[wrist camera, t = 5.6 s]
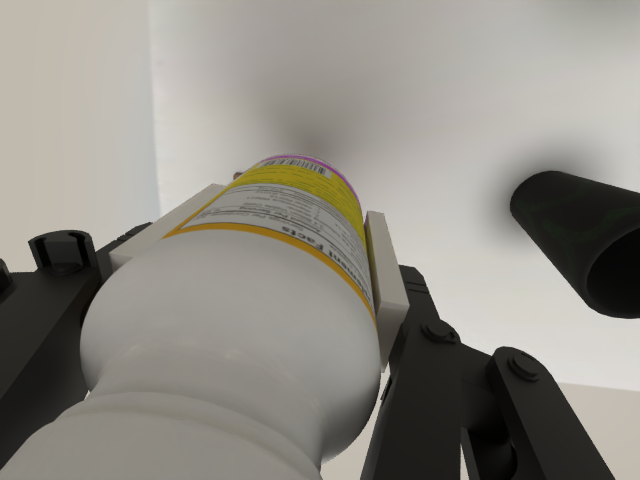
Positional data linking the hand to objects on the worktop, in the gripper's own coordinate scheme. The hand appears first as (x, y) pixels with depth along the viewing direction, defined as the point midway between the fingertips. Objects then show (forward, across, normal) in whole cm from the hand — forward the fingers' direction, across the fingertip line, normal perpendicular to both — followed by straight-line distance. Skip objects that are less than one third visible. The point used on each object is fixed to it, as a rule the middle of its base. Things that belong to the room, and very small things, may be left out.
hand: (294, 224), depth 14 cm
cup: (+15, +22, 0) cm, 27 cm away
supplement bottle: (+1, 0, 0) cm, 1 cm away
